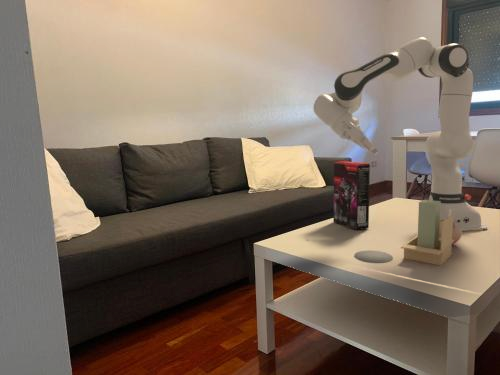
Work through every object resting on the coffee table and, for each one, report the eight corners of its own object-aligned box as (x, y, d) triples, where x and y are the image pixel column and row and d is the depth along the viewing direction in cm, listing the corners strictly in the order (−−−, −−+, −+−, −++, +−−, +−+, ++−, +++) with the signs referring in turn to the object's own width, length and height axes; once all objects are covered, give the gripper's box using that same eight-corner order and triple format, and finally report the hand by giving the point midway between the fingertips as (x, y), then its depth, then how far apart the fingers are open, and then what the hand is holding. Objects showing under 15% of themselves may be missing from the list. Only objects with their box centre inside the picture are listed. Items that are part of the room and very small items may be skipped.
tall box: (417, 257, 127) (418, 202, 124) (422, 253, 131) (424, 199, 128) (433, 260, 124) (435, 203, 121) (438, 256, 127) (440, 201, 124)
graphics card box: (332, 222, 177) (332, 161, 172) (345, 220, 179) (345, 160, 175) (356, 231, 161) (357, 164, 157) (370, 228, 164) (371, 163, 159)
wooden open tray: (400, 262, 124) (401, 218, 122) (418, 248, 137) (419, 208, 135) (438, 269, 117) (440, 223, 115) (453, 254, 130) (455, 212, 128)
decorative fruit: (467, 248, 135) (468, 220, 133) (445, 250, 134) (446, 222, 132) (449, 241, 144) (450, 214, 142) (428, 242, 143) (429, 215, 141)
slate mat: (387, 252, 134) (387, 250, 134) (397, 264, 122) (397, 262, 122) (351, 252, 135) (351, 250, 135) (357, 264, 124) (357, 262, 123)
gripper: (347, 113, 138) (377, 138, 133) (358, 126, 156) (384, 149, 151) (334, 127, 139) (363, 152, 134) (347, 138, 158) (373, 161, 152)
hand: (374, 150), depth 143 cm, fingers open, 8 cm apart
